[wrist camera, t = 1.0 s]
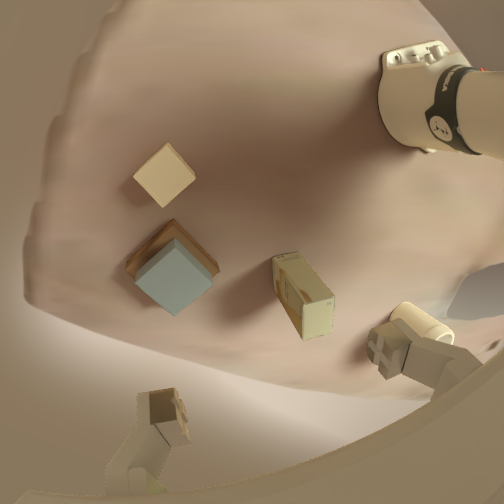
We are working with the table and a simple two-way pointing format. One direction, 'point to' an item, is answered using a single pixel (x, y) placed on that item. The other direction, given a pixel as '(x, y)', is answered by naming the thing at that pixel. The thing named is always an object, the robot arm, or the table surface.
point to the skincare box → (303, 295)
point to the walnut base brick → (162, 240)
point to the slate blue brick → (173, 277)
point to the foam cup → (423, 323)
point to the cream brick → (164, 175)
